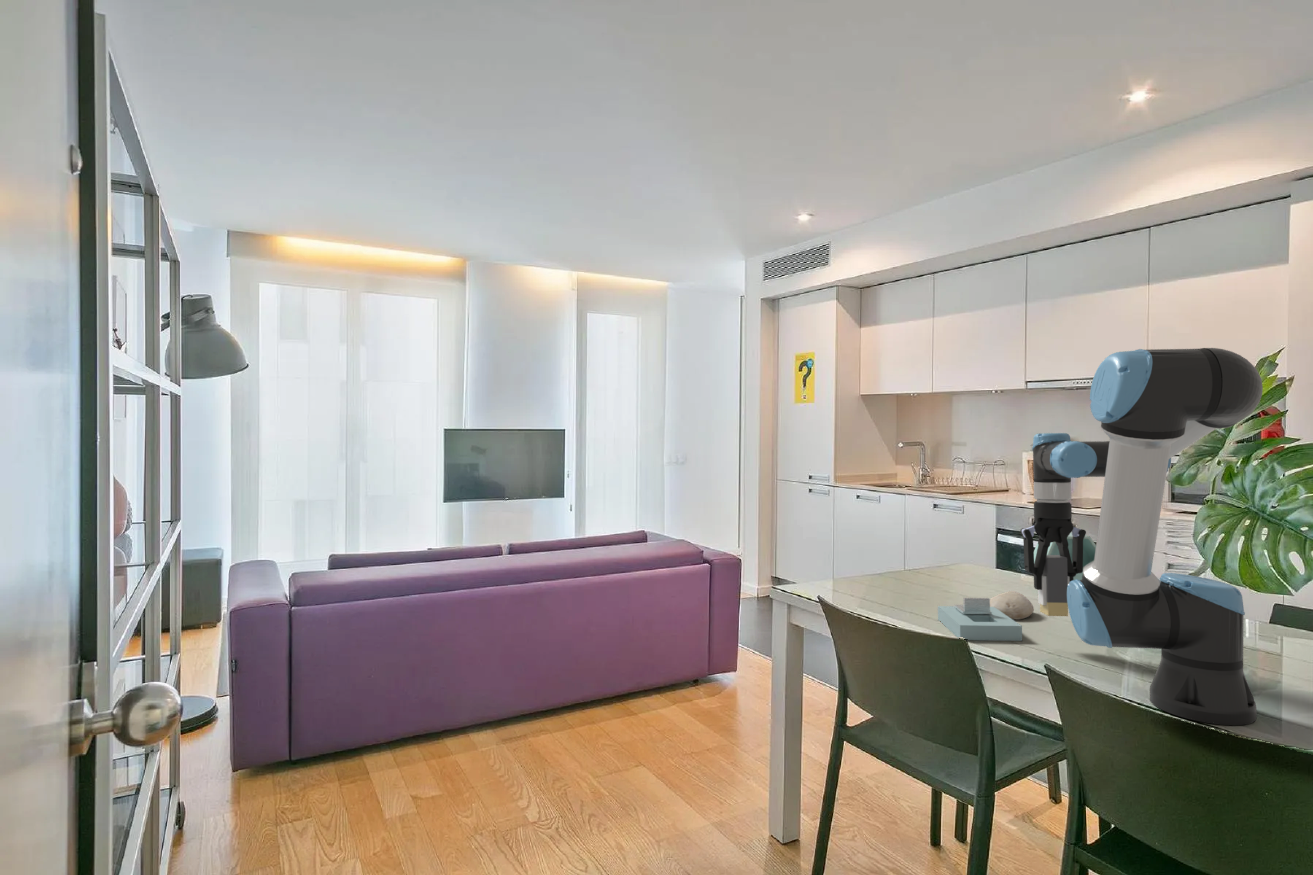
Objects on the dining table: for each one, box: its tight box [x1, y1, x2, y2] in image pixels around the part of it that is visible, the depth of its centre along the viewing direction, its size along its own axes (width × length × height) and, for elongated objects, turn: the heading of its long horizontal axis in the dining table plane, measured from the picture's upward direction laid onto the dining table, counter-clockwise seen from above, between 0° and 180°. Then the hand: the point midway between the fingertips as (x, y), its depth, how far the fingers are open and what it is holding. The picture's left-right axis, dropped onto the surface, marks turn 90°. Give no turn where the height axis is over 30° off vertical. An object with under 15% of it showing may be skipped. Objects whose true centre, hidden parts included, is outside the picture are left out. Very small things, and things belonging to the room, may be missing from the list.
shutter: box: [953, 597, 992, 614], centre depth 182 cm, size 7×7×4 cm
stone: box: [989, 590, 1035, 621], centre depth 192 cm, size 13×10×8 cm
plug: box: [1039, 555, 1069, 617], centre depth 163 cm, size 4×4×13 cm
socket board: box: [937, 605, 1023, 642], centre depth 178 cm, size 18×14×4 cm
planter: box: [1034, 532, 1096, 580], centre depth 216 cm, size 17×8×21 cm
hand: (1053, 603), depth 163 cm, fingers closed on plug, 4 cm apart
